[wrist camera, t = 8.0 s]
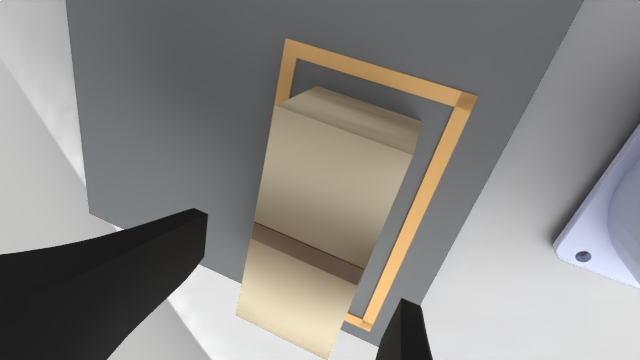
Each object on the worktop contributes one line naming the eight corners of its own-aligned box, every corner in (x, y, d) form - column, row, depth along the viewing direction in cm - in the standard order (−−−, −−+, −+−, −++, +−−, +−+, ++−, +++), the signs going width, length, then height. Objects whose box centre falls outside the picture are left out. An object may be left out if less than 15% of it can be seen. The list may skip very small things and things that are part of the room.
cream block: (350, 296, 18) (327, 361, 15) (274, 262, 19) (235, 315, 15) (422, 121, 13) (412, 156, 10) (317, 85, 14) (274, 105, 11)
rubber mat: (625, -90, 10) (637, -97, 9) (395, 345, 19) (393, 355, 19) (58, -196, 14) (40, -206, 13) (97, 209, 23) (88, 214, 23)
